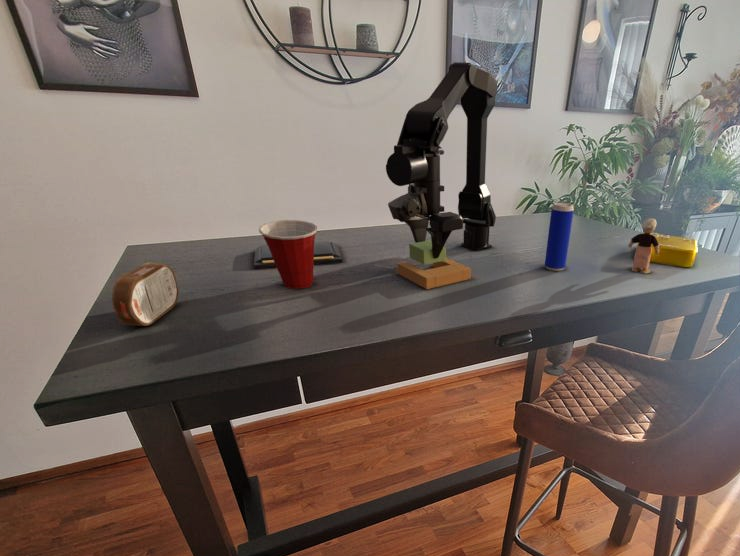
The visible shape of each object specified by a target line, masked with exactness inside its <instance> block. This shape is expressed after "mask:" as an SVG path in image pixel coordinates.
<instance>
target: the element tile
mask: <svg viewBox="0 0 740 556" xmlns="http://www.w3.org/2000/svg"><path fill="white" fill-rule="evenodd" d="M651 235H653V236H655V237H656V239H657V241H658V244H659V253H658V254H656V253H655V249H654V246H653V245H652V244H651V248H652V250H651V256H650V262H649V263H654V264H661V265H667V266H673V267H680V268H692V267H693V266H694V263H695V261H696V257H697V254H698V242H697V240H696V239H695V238H691V237H684V236H683V237H682V236H676V235H675V236H674V235H667V234H660V233H657V232H652V233H651ZM638 244H639V243H636V249H637V246H638ZM636 249H635V250H636Z"/></svg>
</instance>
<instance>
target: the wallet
mask: <svg viewBox="0 0 740 556" xmlns="http://www.w3.org/2000/svg"><path fill="white" fill-rule="evenodd" d="M337 263H343V257H342V254H341V251H340V247H339V246H338V244H337V243H335V242H332V241H329V240H326V241H325V240H323V241H322V240H321V241H314V265H323V264H337ZM253 268H254V269H269V268H277V267H276V265H275V262H274V260H273V257H272V255H271V252H270V250H269V247H268V245H267V244H261V245H259V246H258V247H256V248H255V249H254V260H253Z"/></svg>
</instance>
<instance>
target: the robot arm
mask: <svg viewBox="0 0 740 556" xmlns="http://www.w3.org/2000/svg"><path fill="white" fill-rule="evenodd" d="M497 95H498V80H497V79H496V78H495V77H494V75H493V73H491V72H488V71H487V70H483V69H481V68H478V67H477V66H476V65H475V64H473V63H471V62H463V61H462V62H461V61H460V62H457V61H454V62H453V63H451V64H450V65H449V67H448V71H447V72H446V74H445V76H444V77H443V78H442V80H440V82H439V83H438V85H437V87H436V88H435V89H434V91H433V92H432V93H431V95H430V96H429V97H428V98H427V99H426V100H423V101H420V102H418V103H416V104H415V105H413V106H412V107H411V108H410V109H409V110H408V111H407V112H406V114H405V118H404V119H403V120H404V121H403V123H402V128H401V131H400V134H399V137H398V141H397V143H396V145H393V153H392V154H390V155H389V157H388V158H387V160H386V164H385V172H386V176H387V177H388V179H389V181H390V182H391V183H392V184H393V185H395V186H397V187H404V186H407V193H405V194H402V195H400V196H398V197H397V198H394V199H392V200H390V201H389V202H388V203H387V206H388V209H389V211H390V214H391V217H392V219H393V220H397V221H399V222H401V223H405V225H407V226H408V227H409V229H410V231H411V234H412V237H413V240H414V243H417V242H423V241H426V239H427V234H429V235H430V240H431V241H432V251H433V257H434V258H435V259H436V258H438V257H439V255H440V253H441V251H442V249H443V247H444V246H446V243H447V241H448V239H449V237H450V236H451V233H452V232H453V231H458V230H463V229H464V230H463V242H461V243H460V246H462V247H464V248H467V249H468V250H471V251H480V250H485V249H491V248H493V245H492V244H489V241H490V227H495V224H496V218H497V215H496V213H495V210H494V207H493V205H492V203H491V199H492V198H491V192H490V191H489V189H488V187H487V185H486V163H487V140H488V139H487V137H488V136H487V135H488V118H489V116H490V114H491V113H492V111H493V109H494V108H495V105H496V97H497ZM459 102H460V103H459ZM458 103H459V104H460V106H461V108H462V111H463V112H464V114H465V117H466V157H465V158H466V159H465V160H466V162H465V163H466V166H465V168H466V170H465V174H466V175H465V184H464V187H463V188H462V189H461V191H459V192H458V194H457V195H458V203H457V212H458V213H455V212H452V211H446V212H445V206H444V205H441V192H445V185H441V156H442V155H445V151H444V149H443V148H442V147H441V146H440V145H441V144H442V142H443V141H444V139H445V136H446V135H447V132H448V130H449V124H448V123H449V122H448V119H449V117H450V115H451V114H452V113H453V111H454V109H455V108H456V106H457V105H458ZM429 226H430V227H429Z"/></svg>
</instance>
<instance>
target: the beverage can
mask: <svg viewBox="0 0 740 556" xmlns="http://www.w3.org/2000/svg"><path fill="white" fill-rule="evenodd" d="M574 211H575V209H574V204H572V203H568V202H567V203H566V202H554V203H552V206H551V209H550V218H549V226H548V236H547V242H546V252H545V259H544V260H545V261H544V266H545V269H547V270H549V271H552V272H553V271H554V272H558V271H559V272H560V271H563V270H564V269H565V268H566V267H567V266H566V265H567V259H568V251H569V246H570V237H571V233H572V226H573V225H572V224H573V218H574Z"/></svg>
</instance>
